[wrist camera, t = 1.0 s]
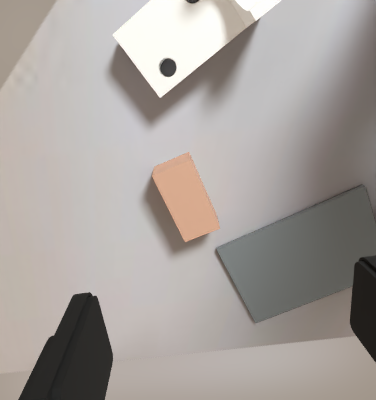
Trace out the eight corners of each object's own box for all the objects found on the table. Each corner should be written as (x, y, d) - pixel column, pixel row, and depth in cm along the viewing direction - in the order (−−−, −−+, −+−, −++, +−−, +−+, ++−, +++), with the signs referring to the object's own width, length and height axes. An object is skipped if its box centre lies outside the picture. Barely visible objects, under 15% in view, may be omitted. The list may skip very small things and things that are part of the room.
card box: (188, 151, 37) (189, 159, 33) (216, 214, 40) (220, 228, 37) (154, 166, 38) (151, 176, 34) (184, 226, 41) (184, 242, 37)
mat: (362, 184, 39) (365, 186, 38) (387, 269, 44) (389, 271, 43) (216, 247, 42) (216, 250, 41) (254, 320, 47) (255, 323, 46)
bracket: (221, -53, 30) (233, -92, 23) (260, 15, 32) (283, -2, 25) (119, 38, 33) (102, 29, 26) (162, 95, 35) (157, 101, 28)
